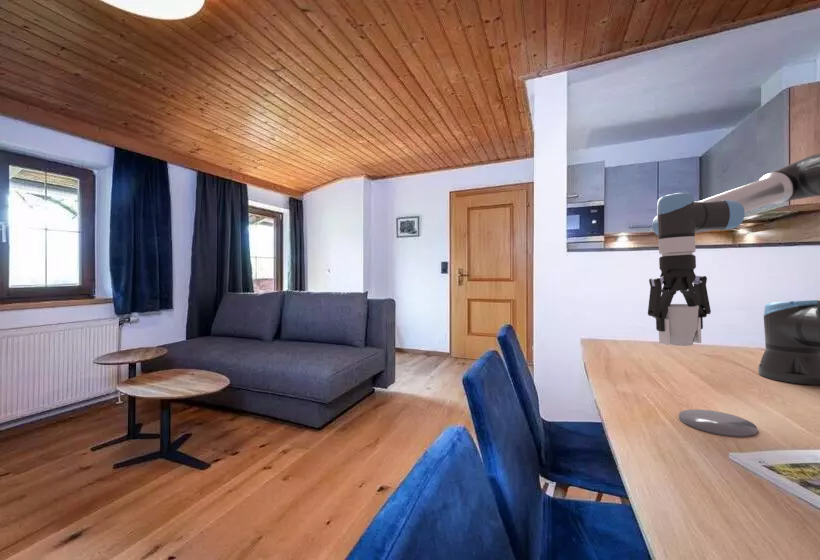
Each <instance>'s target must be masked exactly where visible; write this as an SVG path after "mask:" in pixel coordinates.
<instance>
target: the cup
mask: <svg viewBox="0 0 820 560" xmlns="http://www.w3.org/2000/svg"><path fill="white" fill-rule="evenodd" d="M698 316H699V305H696V306H694V307H688V305H687V303H671V304H670V307H668V313H667V316H666V318H665V319H669V329H670V345H672V346H680V347H688V346H689V347H690V346H693V345H694V343H695V342H694V340H695V337H696V333H697V327H698Z"/></svg>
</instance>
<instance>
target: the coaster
mask: <svg viewBox="0 0 820 560" xmlns="http://www.w3.org/2000/svg"><path fill="white" fill-rule="evenodd" d="M678 418H679V421H680V422H681V423H683V424H685V425H686V426H688V427H690V428H693V429H696V430H699V431H700V432H701V431H702V432H704V433H705V432H706V433H709V434H714V435H720V436H725V437H735V438H746V437H751V436H754V435H755V436H756V434H758V427H757V425H756V424H755V423H754V422H752V421H750V420H748V419H745V418H743V417H740V416H737V415H735V414H730V413H725V412H723V411H716V410H711V409H710V410H709V409H686V410H681V411H680V412H679V413H678Z"/></svg>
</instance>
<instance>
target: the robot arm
mask: <svg viewBox="0 0 820 560" xmlns="http://www.w3.org/2000/svg"><path fill="white" fill-rule="evenodd" d="M814 197H820V153H818V154H814V155H810V156H807V157H805V158H802V159H799V160H798V161H797V160H796V161H795V162H793V163H791V164H787V165H786V166H784V167H781V168H779V169H777V170H774V171H772V172H769V173H766V174H764V175H763V176H762V177H760V178H759V180H755V181H753V182H750V183H748V184H745V185H742V186H739V187H736V188H733V189H729V190H727V191H724V192H722V193H719V194H718V193H717V194H716V195H713V196H710V197H707V198H704V199H702V200H698V201H696V200H695V198H694V195H693V193H691V192H677V193H670V194H666V195H663V196H660V198H659V199H658V200H657V206H656V208H657V209H656V216H655V217H654V218H653V220H652V223H651V226H652V227H651V228H652V230H653V232H654V234H655V235H656V236H658V254H659V255H661V256H660V257H659V258H658V260H659V261H658V265H659V270H660V272H661V274H660V275H659V277H653V278H652V277H651V278H649V280H648V282H649V287H650V291H649V299H648V306H647V307H648V309H647V315H648V316H649V317H652V318H655V327H656V328H655V329H656V331H657V332H658V340H659V344H663V345H665V346H670V345H671V344H670V329H669V319H665V318H666V316H667V313H668V307H670V304H672V301H673V299H674V296H675V295H676V294H677V292H680V293H681V294H682V295H683V297H684V300H685V302H686V304H687V305H688V307H694V306H696V305H699V316H698V327H697V333H696V337H695V340H694V342H693V343H697V344H702V330H703V327H704V320H703V318H706V317H707V316H708V315H711V312H712V311H711V305H710V299H709V294H708V288H707V281H708V280H707V279H708V277H707V276H706V275H696V274H695V269H696V268H697V260H696V259H697V258H696V255H695V254H694V253H695V252H696V233H697V234H698V233H704V232H712V231H725V230H734V229H736V228H737V227H739V226H741V224H742V223H743V221H744V219H745V213H747V212H750V211H752V210H753V211H754V210H755V209H758V208H762V207H764V206H765V207H766V205H770V204H771V205H781V204H784V203H786V202H787V203H788V202H791V201H795V200H800V199H807V198H814ZM763 312H764V314H763V325H764V342H765V345H764V346H765V349H764V352H763V355H762V357H761V360H760V362H759V364H758V374H759V375H760V376H762V377H764V378H767V379H770V380H775V381H778V382H779V381H780V382H785V383H792V384H801V385H811V386H812V385H813V386H820V297H819V298H817V299H809V300H808V299H807V300H790V301H789V300H788V301H787V300H786V301H772V302H771V301H770V302H768V303H766V304H765V306H764V311H763Z"/></svg>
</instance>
